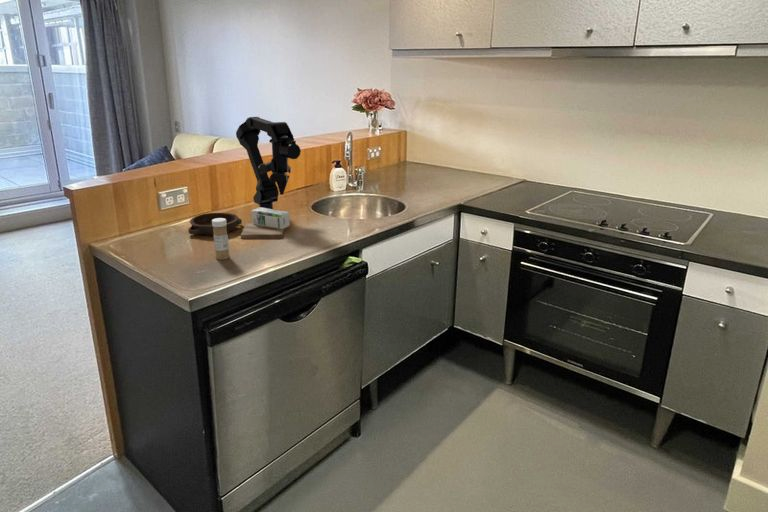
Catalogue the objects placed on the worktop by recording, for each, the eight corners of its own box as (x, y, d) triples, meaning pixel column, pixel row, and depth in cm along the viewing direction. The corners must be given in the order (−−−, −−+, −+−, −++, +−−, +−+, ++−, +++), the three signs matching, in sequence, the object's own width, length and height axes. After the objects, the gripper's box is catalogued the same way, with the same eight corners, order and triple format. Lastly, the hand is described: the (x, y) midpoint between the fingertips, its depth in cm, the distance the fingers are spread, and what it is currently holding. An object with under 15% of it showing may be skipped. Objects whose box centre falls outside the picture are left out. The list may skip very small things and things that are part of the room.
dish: (177, 231, 202) (176, 219, 200) (228, 220, 217) (227, 208, 215) (201, 242, 191) (199, 229, 189) (252, 229, 206) (251, 217, 204)
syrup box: (281, 229, 201) (251, 224, 207) (290, 225, 206) (260, 220, 212) (280, 215, 199) (250, 210, 205) (289, 211, 204) (259, 206, 210)
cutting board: (248, 225, 210) (248, 221, 210) (286, 225, 211) (285, 221, 211) (241, 238, 195) (240, 234, 195) (281, 238, 196) (281, 234, 196)
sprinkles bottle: (225, 254, 179) (221, 216, 175) (232, 257, 177) (228, 219, 172) (212, 257, 176) (209, 219, 172) (220, 261, 173) (216, 222, 169)
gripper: (262, 151, 212) (264, 188, 218) (255, 159, 195) (257, 200, 200) (290, 151, 213) (291, 189, 219) (285, 159, 196) (287, 200, 201)
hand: (281, 194), depth 210 cm, fingers closed
